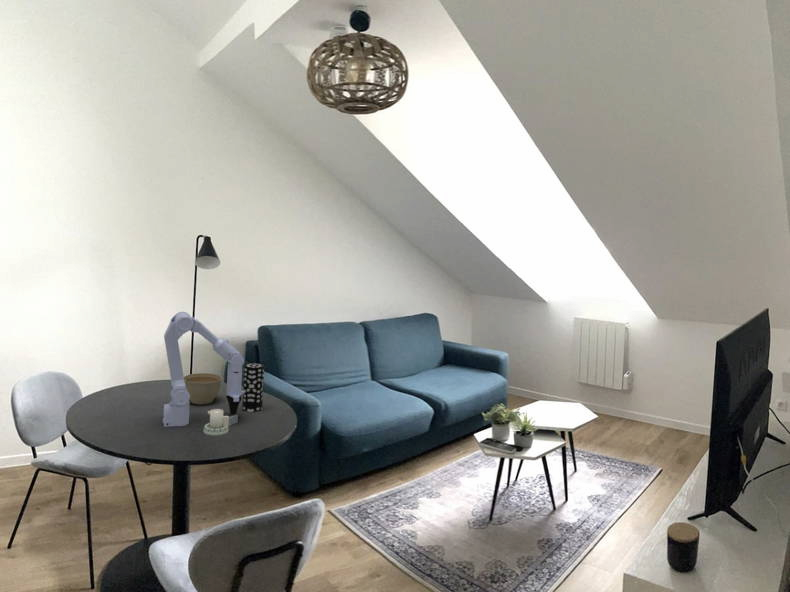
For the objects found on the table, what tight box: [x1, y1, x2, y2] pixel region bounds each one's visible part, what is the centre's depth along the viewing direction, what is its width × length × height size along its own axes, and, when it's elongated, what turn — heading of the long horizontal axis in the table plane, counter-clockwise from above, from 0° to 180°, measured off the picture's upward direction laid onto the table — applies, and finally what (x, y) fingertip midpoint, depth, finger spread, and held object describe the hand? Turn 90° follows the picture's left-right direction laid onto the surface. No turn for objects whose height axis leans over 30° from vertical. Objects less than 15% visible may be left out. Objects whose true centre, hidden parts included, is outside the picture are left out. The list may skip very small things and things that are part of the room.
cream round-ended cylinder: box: [207, 408, 230, 429], centre depth 215 cm, size 8×5×7 cm, turn 114°
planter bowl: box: [183, 372, 223, 405], centre depth 252 cm, size 16×16×11 cm
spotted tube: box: [241, 362, 265, 413], centre depth 243 cm, size 8×8×20 cm
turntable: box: [203, 413, 239, 437], centre depth 218 cm, size 14×14×3 cm
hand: (233, 413), depth 230 cm, fingers closed
